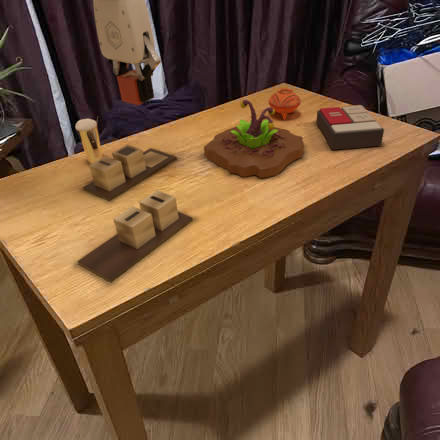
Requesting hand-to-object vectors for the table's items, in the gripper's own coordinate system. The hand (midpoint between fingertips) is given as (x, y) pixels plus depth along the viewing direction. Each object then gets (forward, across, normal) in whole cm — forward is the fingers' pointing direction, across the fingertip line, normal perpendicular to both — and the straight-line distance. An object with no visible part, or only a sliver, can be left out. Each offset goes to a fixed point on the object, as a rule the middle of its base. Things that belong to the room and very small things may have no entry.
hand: (137, 96), depth 83 cm
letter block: (+1, 0, 0) cm, 1 cm away
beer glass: (+15, -12, -5) cm, 20 cm away
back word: (+15, -1, -5) cm, 15 cm away
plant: (+15, +16, +16) cm, 27 cm away
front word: (+15, +17, -21) cm, 30 cm away
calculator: (+15, +29, +36) cm, 48 cm away
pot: (+15, +11, +37) cm, 42 cm away
